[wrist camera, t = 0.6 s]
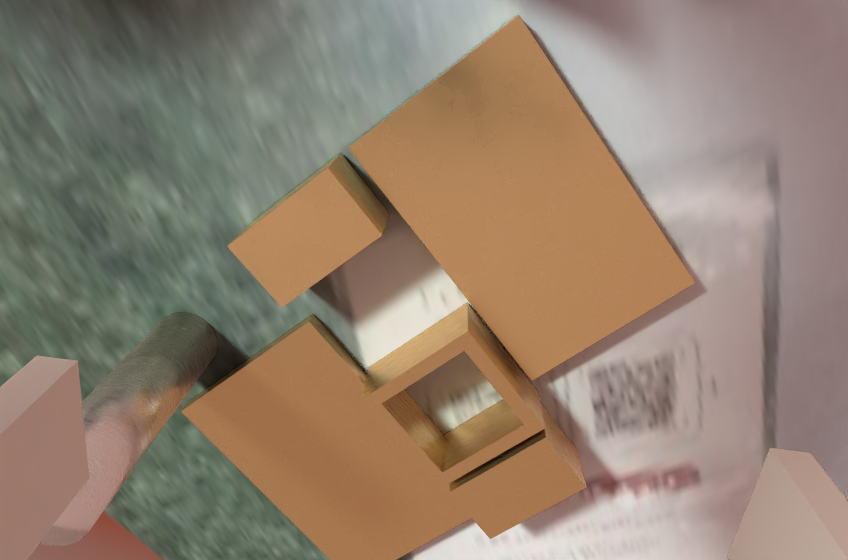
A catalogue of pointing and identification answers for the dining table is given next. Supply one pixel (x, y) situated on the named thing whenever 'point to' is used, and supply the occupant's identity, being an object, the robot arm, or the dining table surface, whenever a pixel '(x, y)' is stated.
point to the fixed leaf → (386, 440)
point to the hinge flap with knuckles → (487, 207)
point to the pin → (133, 414)
